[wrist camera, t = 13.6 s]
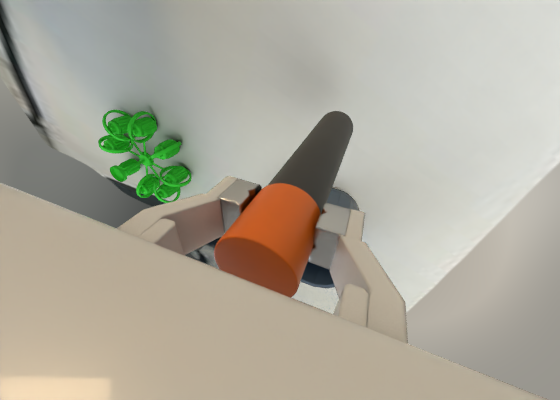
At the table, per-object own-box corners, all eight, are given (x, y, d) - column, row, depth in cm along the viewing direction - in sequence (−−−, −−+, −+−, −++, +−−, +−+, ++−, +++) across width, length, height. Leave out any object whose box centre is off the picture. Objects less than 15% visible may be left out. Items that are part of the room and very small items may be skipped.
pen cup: (299, 224, 33) (277, 273, 26) (306, 181, 28) (281, 227, 22) (351, 239, 31) (341, 296, 24) (366, 196, 27) (359, 251, 20)
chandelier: (108, 85, 31) (52, 95, 26) (201, 133, 30) (162, 153, 25) (123, 169, 41) (85, 189, 36) (194, 208, 40) (165, 234, 35)
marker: (315, 142, 19) (218, 282, 8) (320, 106, 17) (207, 224, 6) (349, 149, 18) (292, 312, 7) (359, 112, 16) (303, 257, 6)
